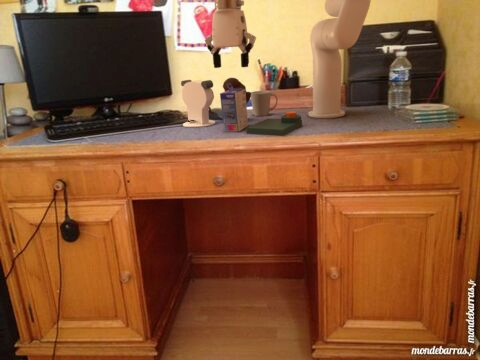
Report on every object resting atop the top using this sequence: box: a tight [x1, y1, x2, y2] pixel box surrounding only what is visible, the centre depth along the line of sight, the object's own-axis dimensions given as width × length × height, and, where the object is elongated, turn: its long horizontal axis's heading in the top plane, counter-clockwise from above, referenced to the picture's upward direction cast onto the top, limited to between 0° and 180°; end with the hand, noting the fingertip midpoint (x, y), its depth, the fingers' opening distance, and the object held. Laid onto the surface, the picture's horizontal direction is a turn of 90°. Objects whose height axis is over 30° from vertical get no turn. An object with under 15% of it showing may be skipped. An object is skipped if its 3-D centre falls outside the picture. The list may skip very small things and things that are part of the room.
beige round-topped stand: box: [180, 79, 216, 128], centre depth 134 cm, size 12×11×15 cm
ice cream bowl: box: [222, 77, 251, 105], centre depth 136 cm, size 11×11×15 cm
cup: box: [250, 90, 279, 117], centre depth 145 cm, size 8×10×8 cm
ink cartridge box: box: [219, 83, 249, 133], centre depth 123 cm, size 10×6×14 cm, turn 161°
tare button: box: [285, 111, 297, 117], centre depth 121 cm, size 3×3×2 cm
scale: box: [246, 114, 303, 137], centre depth 120 cm, size 15×13×4 cm
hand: (231, 67), depth 119 cm, fingers open, 9 cm apart
